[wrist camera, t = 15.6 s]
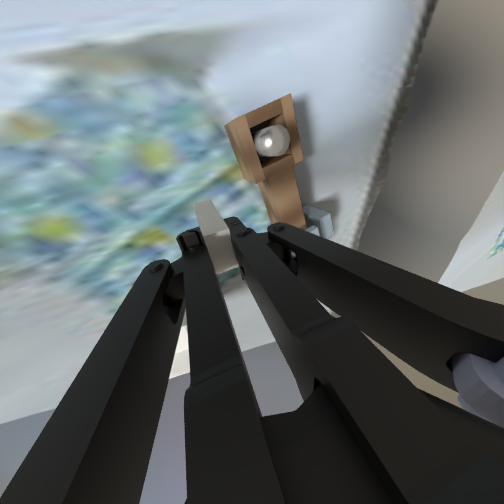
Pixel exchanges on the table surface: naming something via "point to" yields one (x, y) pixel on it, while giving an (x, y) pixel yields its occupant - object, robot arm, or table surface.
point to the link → (271, 161)
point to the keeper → (317, 222)
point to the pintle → (271, 140)
